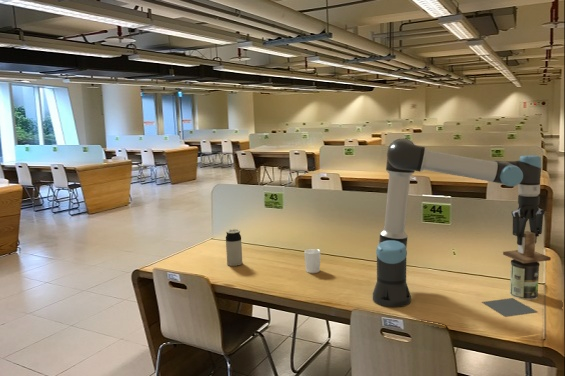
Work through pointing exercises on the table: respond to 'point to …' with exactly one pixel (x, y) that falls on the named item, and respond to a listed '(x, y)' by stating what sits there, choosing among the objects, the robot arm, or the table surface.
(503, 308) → the mat
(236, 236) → the travel mug
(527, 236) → the lid
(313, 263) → the white cup
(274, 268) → the table surface
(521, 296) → the coffee can
